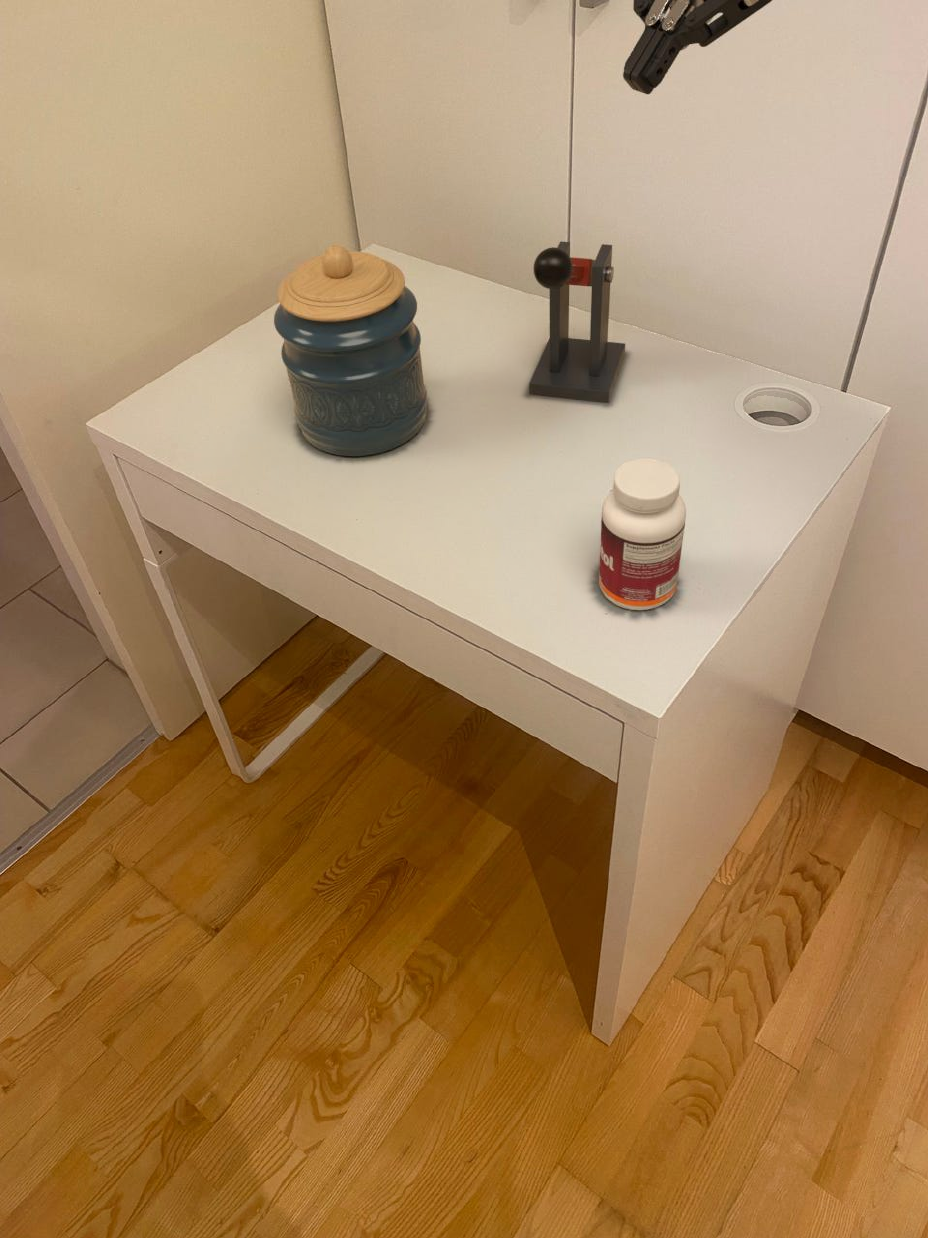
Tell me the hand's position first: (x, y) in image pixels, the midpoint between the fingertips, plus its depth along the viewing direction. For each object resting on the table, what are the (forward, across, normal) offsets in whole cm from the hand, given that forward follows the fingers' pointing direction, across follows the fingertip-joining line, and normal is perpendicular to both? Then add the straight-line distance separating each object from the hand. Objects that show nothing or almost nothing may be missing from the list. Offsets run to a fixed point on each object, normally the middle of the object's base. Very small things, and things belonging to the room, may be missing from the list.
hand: (634, 85), depth 72 cm
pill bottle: (+31, -19, -10) cm, 38 cm away
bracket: (+20, +7, -21) cm, 30 cm away
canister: (+35, +15, -6) cm, 38 cm away
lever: (+14, +3, -9) cm, 17 cm away
